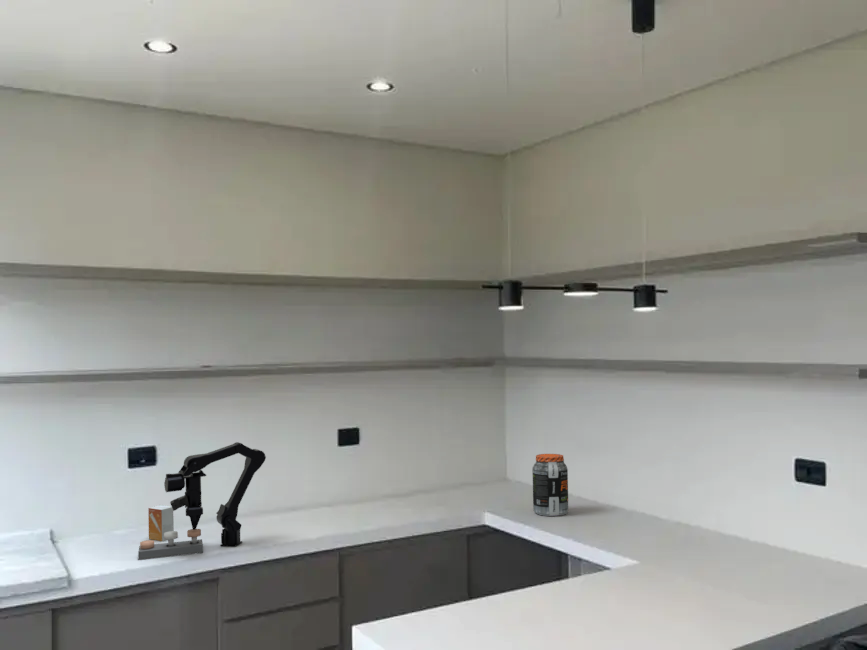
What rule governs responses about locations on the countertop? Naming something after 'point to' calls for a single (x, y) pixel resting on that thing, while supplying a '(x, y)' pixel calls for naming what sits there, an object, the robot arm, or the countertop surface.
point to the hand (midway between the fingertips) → (194, 529)
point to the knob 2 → (194, 535)
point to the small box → (160, 521)
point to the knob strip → (171, 550)
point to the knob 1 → (147, 544)
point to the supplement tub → (550, 485)
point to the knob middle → (170, 537)
